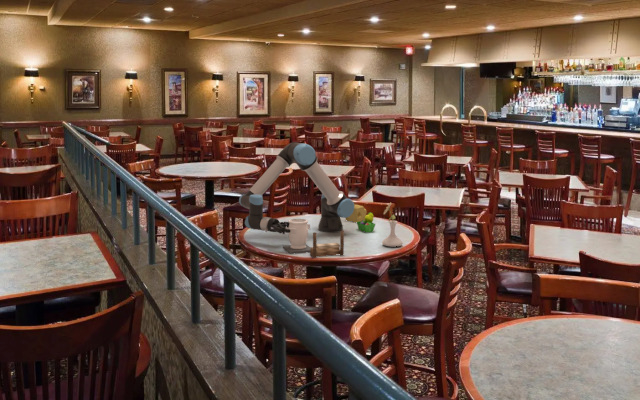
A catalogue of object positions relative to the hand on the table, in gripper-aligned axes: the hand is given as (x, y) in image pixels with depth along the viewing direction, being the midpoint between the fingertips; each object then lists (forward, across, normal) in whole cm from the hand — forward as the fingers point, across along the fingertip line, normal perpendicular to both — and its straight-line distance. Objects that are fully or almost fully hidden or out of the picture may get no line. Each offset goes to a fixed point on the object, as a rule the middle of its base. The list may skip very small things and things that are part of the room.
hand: (303, 229), depth 343 cm
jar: (-3, 0, -11) cm, 11 cm away
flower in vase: (+36, -35, -12) cm, 52 cm away
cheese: (-13, -86, -12) cm, 88 cm away
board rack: (+15, +1, -12) cm, 19 cm away
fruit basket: (+7, -63, -12) cm, 64 cm away
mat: (-3, 0, -12) cm, 12 cm away
